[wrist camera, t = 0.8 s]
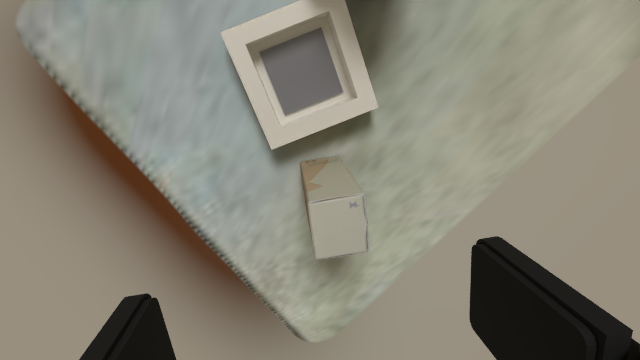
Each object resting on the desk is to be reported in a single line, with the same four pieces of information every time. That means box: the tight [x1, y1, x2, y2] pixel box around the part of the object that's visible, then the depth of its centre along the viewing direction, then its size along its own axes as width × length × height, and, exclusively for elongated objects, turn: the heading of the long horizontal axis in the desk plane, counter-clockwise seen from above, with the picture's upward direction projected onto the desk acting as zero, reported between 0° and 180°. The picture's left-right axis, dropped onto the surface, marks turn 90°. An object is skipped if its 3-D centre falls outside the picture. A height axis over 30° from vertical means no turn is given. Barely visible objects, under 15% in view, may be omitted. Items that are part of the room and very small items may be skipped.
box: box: [300, 157, 369, 260], centre depth 29 cm, size 5×4×11 cm
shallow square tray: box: [221, 0, 378, 150], centre depth 30 cm, size 10×10×3 cm
